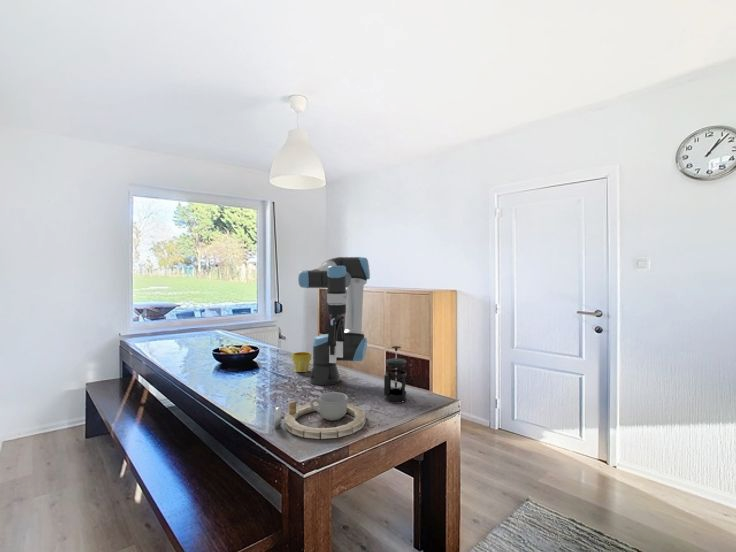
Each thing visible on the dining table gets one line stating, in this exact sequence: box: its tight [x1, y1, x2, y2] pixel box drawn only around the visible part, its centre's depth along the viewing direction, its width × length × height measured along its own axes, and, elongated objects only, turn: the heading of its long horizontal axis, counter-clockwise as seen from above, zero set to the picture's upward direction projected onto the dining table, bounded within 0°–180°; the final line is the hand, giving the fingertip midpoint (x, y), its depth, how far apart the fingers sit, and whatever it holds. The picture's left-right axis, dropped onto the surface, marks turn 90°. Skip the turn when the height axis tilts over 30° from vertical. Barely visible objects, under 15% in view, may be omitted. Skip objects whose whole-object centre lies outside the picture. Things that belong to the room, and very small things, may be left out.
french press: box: [383, 345, 408, 403], centre depth 161 cm, size 12×9×23 cm
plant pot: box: [291, 351, 312, 373], centre depth 207 cm, size 10×10×10 cm
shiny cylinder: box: [273, 406, 285, 430], centre depth 132 cm, size 2×3×7 cm
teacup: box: [309, 391, 348, 421], centre depth 142 cm, size 14×11×8 cm
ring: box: [284, 400, 367, 440], centre depth 137 cm, size 29×29×6 cm
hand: (336, 359), depth 151 cm, fingers open, 9 cm apart
